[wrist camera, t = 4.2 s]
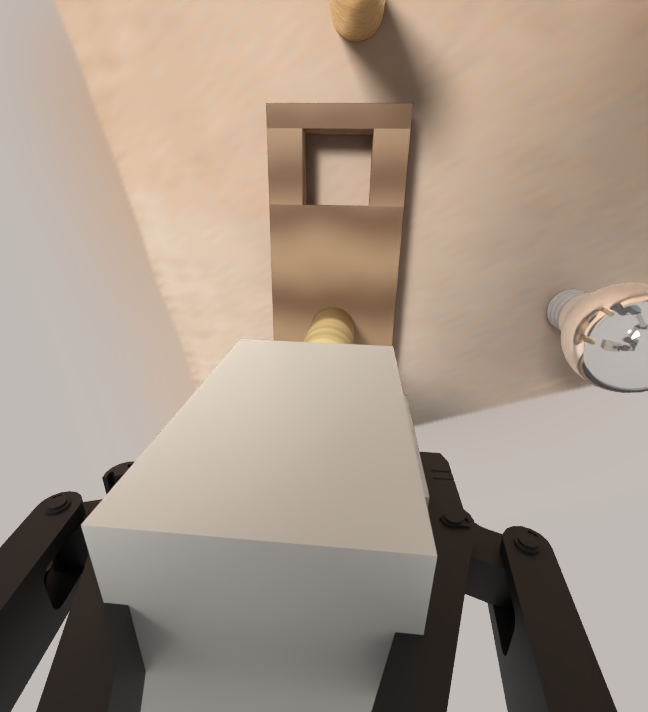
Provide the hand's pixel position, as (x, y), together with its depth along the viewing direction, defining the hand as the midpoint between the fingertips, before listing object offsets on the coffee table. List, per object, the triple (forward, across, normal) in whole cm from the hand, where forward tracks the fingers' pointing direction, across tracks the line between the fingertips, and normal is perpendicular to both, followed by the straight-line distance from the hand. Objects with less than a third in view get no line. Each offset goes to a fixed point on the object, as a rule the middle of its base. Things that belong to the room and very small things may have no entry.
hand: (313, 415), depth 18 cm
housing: (+1, 0, 0) cm, 1 cm away
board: (+17, 0, +6) cm, 18 cm away
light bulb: (+18, +19, +2) cm, 26 cm away
